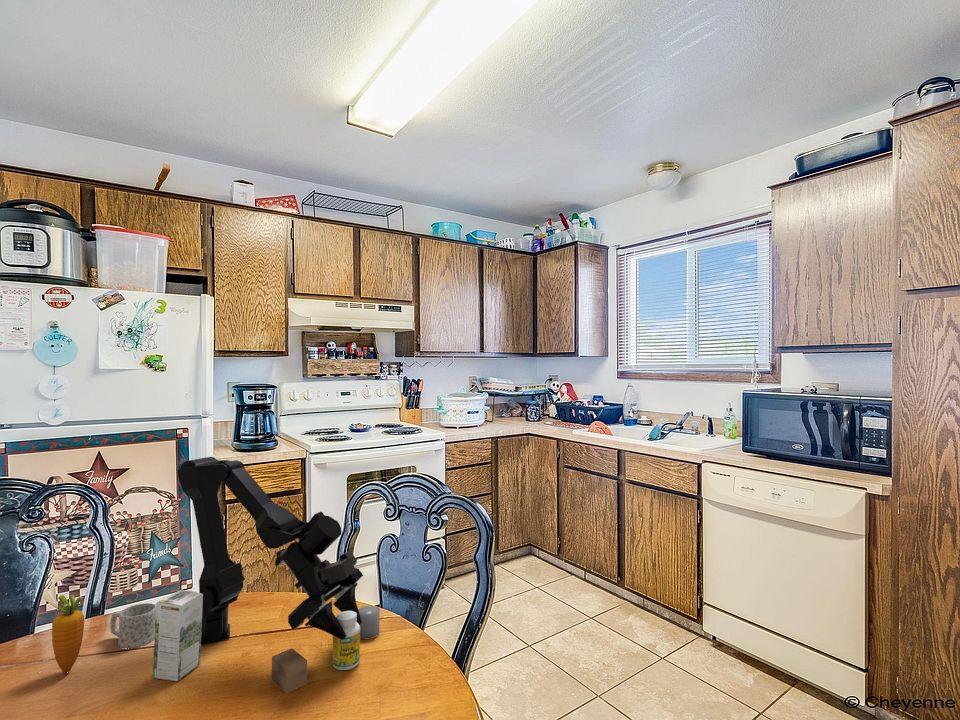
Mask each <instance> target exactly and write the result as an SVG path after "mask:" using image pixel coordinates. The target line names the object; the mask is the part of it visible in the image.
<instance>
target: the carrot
mask: <svg viewBox="0 0 960 720" xmlns="http://www.w3.org/2000/svg"><path fill="white" fill-rule="evenodd" d="M68 599H69V601H68ZM68 599H67V597H66V596H65V595H64V594H61V595H58V600H59V601H60V603H61V604H62V606H61V605H59V606H57V607H56V609H57V610H59V611H61V613H60V614H59V615H57V616H56V617H54V618H53V620H52V622H51V638H52V639H51V641H52V643H51V644H52V650H53V654H54V658H55V661H56V663H57V665H58V667H59V669H60V670H61V671H62V673H63V674H68V673H69V672H71V669H72V668H73V666H74V664H75V663H76V661H77V659H78V657H79V655H80V650H81V647H82V643H83V639H84V638H83V637H84V629H85V614H84V613H83V611H82V610H76V609H77V607H78V606H79V604H80V602H81V601H82V600H83V597H82V596H78V597H77V598H75V595H73V594H72V595H69V596H68ZM69 602H70V603H69ZM67 672H68V673H67Z"/></svg>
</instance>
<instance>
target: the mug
mask: <svg viewBox="0 0 960 720" xmlns="http://www.w3.org/2000/svg"><path fill="white" fill-rule="evenodd" d="M155 620H156V603H152V602H145V603H144V602H143V603H138V604H132V605H131V606H128V607H126V608H123V609H122V610H121V611H115V612H113V613H112V614H111V616H110V627H109V628H110V632H111V634H112V635H114V636H116V637H117V638H118V643H117V644H118V645H117V646H119V647H120V648H119V647H118V648H119V649H121V648H127V649H126V650H132V649H131V648H135V649H138V647H139V648H141V646H142V647H144V646H147V645H149V644H151V643H152V642H153V641H155ZM117 621H118V623H119V624H118V625H117ZM128 648H129V649H128Z"/></svg>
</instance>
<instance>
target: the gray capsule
mask: <svg viewBox="0 0 960 720" xmlns="http://www.w3.org/2000/svg"><path fill="white" fill-rule="evenodd" d="M358 610H359V614H360V617H361V620H362V623H361V624H360V639H361V638H371V639H373V638H372V637H374V636H376V635H377V636H378V635H380V625H381V624H380V620H381V619H380V616H381V615H380V613H381V609H380V608H379V607H378V606H376V605H365V606H362V607H360V608H358ZM377 636H376V637H377ZM374 638H375V637H374Z"/></svg>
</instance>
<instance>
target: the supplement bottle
mask: <svg viewBox="0 0 960 720" xmlns="http://www.w3.org/2000/svg"><path fill="white" fill-rule="evenodd" d="M335 617H336V618H337V620H338V622H339V623H340V625H341V626H342V628H343V630H344V632H345V634H346V637H345V638H344V639H343V640H341V639H339V638H337V637H335V636H333V635H332V666H333V668H334V669H336V670H338V671H348V670H352V669H354V668H356V667H357V666H358V665H359V663H360V660H361V638H360V625H359V624H358V623H357V622H356V621H357V613H356V612H354V611H344V612H341V611H340V612H339V613H338V614H337V615H336V616H335Z"/></svg>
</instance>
